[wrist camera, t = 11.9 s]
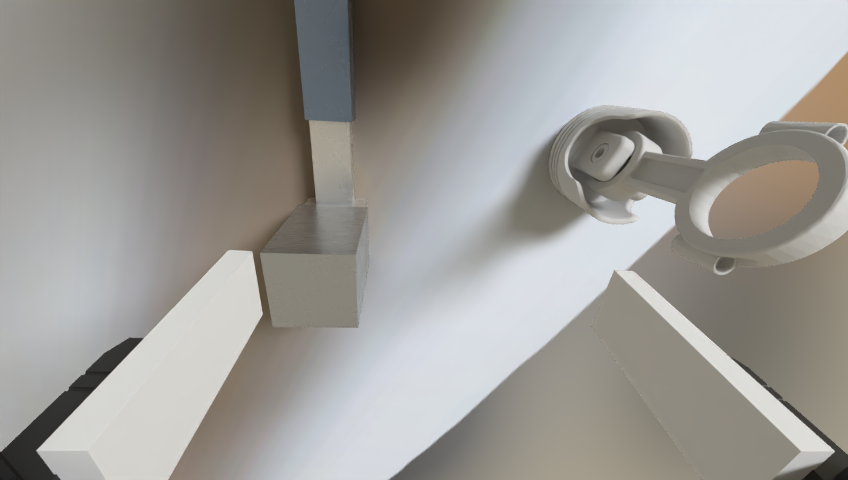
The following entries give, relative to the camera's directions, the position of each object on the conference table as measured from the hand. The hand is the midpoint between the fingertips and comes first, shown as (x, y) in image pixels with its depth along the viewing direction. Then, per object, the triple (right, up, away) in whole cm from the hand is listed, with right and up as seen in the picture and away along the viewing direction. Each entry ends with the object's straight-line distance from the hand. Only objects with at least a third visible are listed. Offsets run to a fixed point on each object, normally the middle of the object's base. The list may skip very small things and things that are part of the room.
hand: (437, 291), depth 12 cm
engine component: (+18, +11, +22) cm, 31 cm away
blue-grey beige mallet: (-9, +12, +20) cm, 25 cm away
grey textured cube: (-10, +2, +21) cm, 23 cm away
